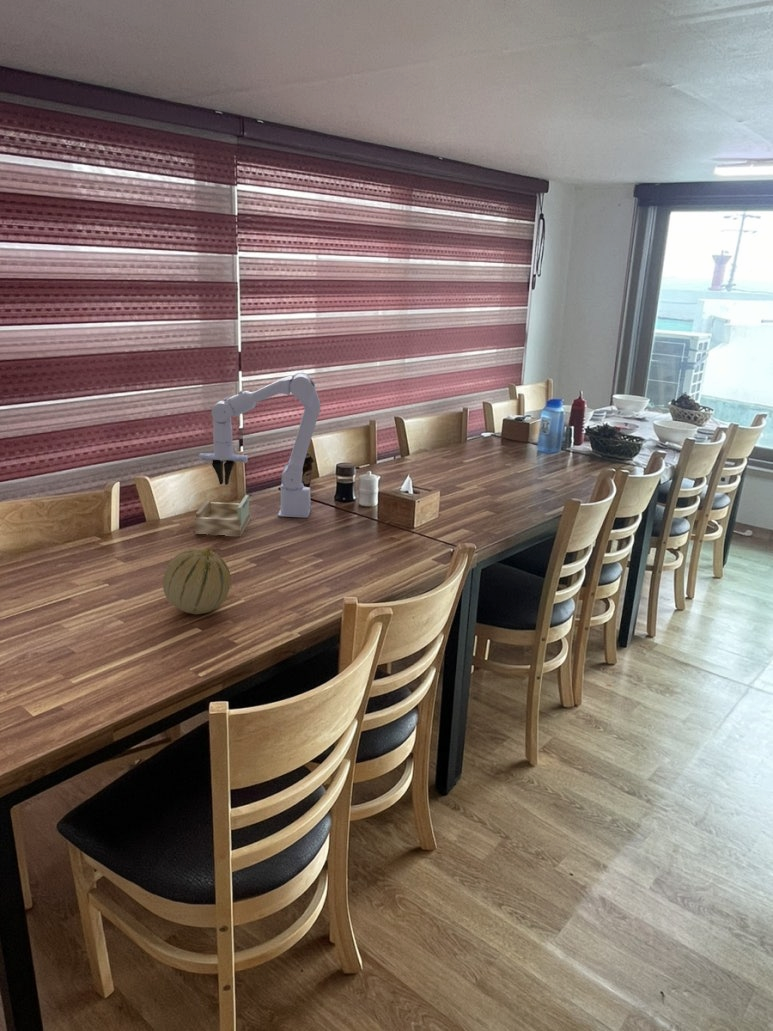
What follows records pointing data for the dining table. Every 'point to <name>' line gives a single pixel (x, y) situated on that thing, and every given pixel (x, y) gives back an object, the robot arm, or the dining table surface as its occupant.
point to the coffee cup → (307, 470)
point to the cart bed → (219, 519)
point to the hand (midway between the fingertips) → (224, 483)
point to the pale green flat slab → (243, 509)
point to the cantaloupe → (196, 581)
